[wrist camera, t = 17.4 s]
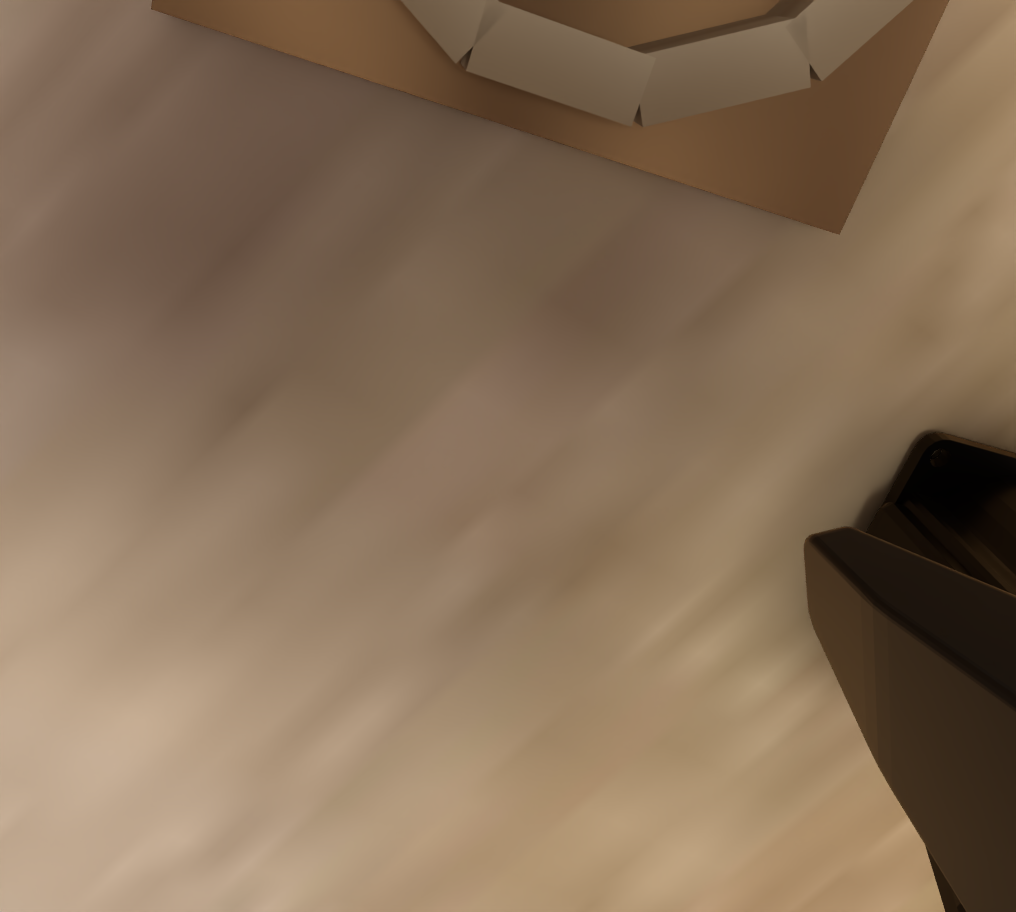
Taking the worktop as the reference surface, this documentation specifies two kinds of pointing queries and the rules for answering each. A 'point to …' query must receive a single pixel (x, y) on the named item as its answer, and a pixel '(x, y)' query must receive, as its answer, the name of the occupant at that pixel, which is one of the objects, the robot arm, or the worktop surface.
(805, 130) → the collar base
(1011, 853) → the robot arm
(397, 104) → the worktop surface
